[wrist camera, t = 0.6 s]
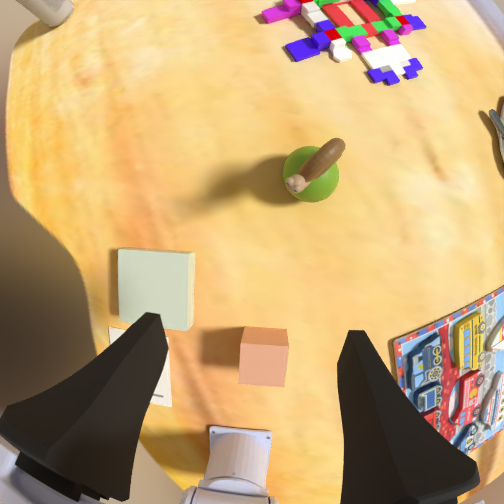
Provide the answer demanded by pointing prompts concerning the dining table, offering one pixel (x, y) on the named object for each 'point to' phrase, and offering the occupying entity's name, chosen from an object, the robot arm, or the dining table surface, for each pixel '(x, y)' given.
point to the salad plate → (499, 127)
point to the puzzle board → (458, 372)
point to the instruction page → (163, 387)
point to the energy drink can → (50, 10)
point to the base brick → (157, 286)
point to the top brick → (263, 356)
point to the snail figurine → (313, 171)
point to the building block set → (354, 34)
